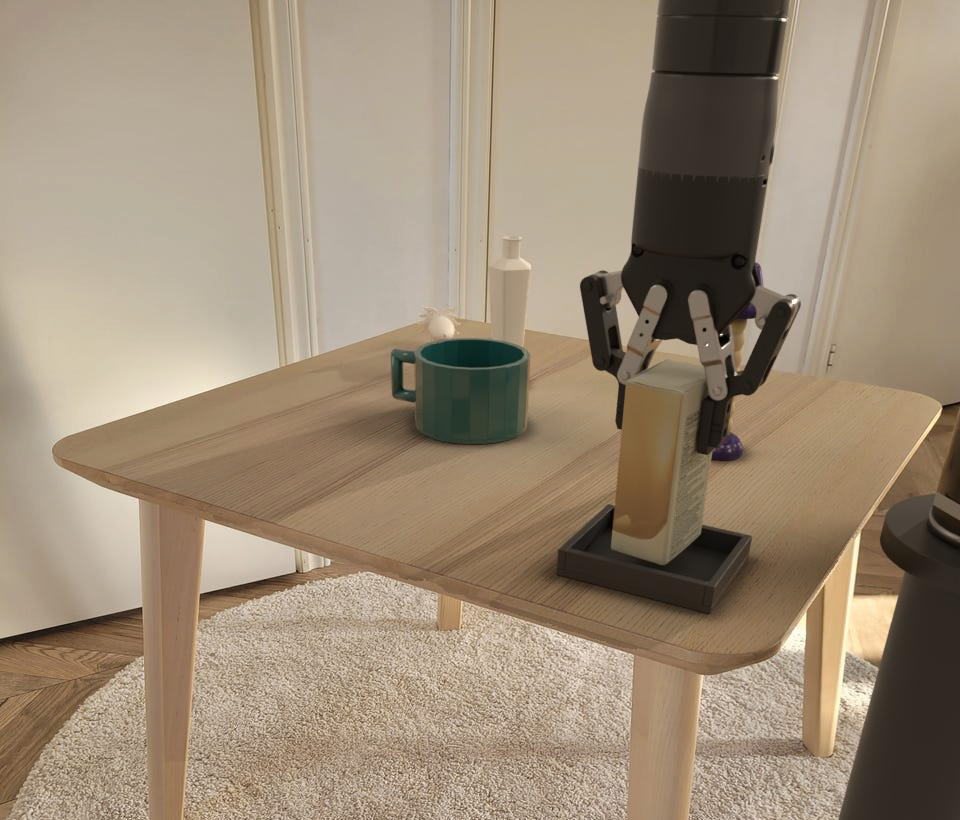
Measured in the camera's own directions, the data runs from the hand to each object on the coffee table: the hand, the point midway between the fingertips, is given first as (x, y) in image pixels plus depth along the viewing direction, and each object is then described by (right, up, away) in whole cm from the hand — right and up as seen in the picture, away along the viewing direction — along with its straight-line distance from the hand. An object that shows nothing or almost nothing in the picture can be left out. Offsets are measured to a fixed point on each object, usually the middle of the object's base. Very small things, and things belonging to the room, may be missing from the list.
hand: (669, 442), depth 67 cm
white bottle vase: (-10, +15, +42) cm, 46 cm away
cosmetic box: (0, -7, +4) cm, 8 cm away
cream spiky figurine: (-17, +20, +52) cm, 58 cm away
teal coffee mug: (-15, +8, +31) cm, 36 cm away
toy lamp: (+9, +4, +25) cm, 27 cm away
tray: (0, -8, +5) cm, 9 cm away
